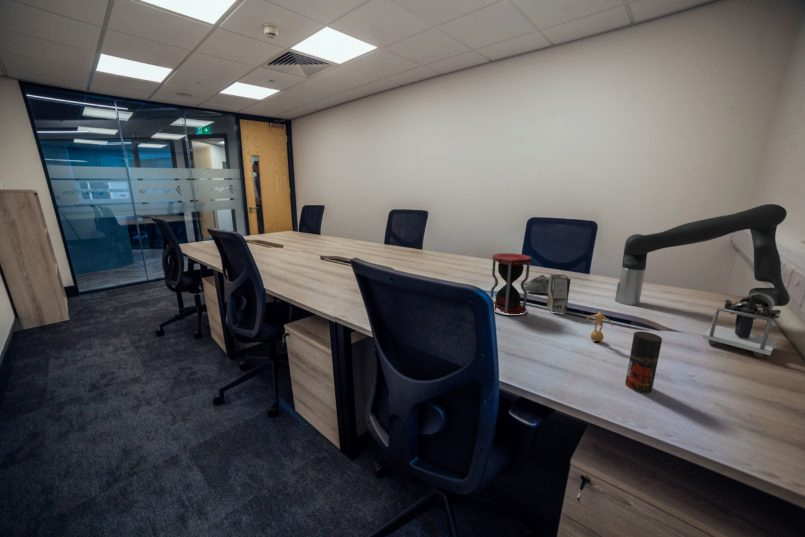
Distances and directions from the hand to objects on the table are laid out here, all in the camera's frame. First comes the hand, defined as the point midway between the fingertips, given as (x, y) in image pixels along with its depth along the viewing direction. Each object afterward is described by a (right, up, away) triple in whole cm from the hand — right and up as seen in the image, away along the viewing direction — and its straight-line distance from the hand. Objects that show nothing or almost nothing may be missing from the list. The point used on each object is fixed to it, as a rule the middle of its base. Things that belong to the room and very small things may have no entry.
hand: (743, 313), depth 108 cm
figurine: (-45, -11, +7) cm, 47 cm away
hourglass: (-67, -4, +39) cm, 77 cm away
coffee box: (-45, -4, +38) cm, 59 cm away
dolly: (+2, -12, +4) cm, 13 cm away
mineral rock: (-41, +2, +66) cm, 78 cm away
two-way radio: (+2, -8, +3) cm, 9 cm away
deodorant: (-50, -17, -20) cm, 56 cm away
